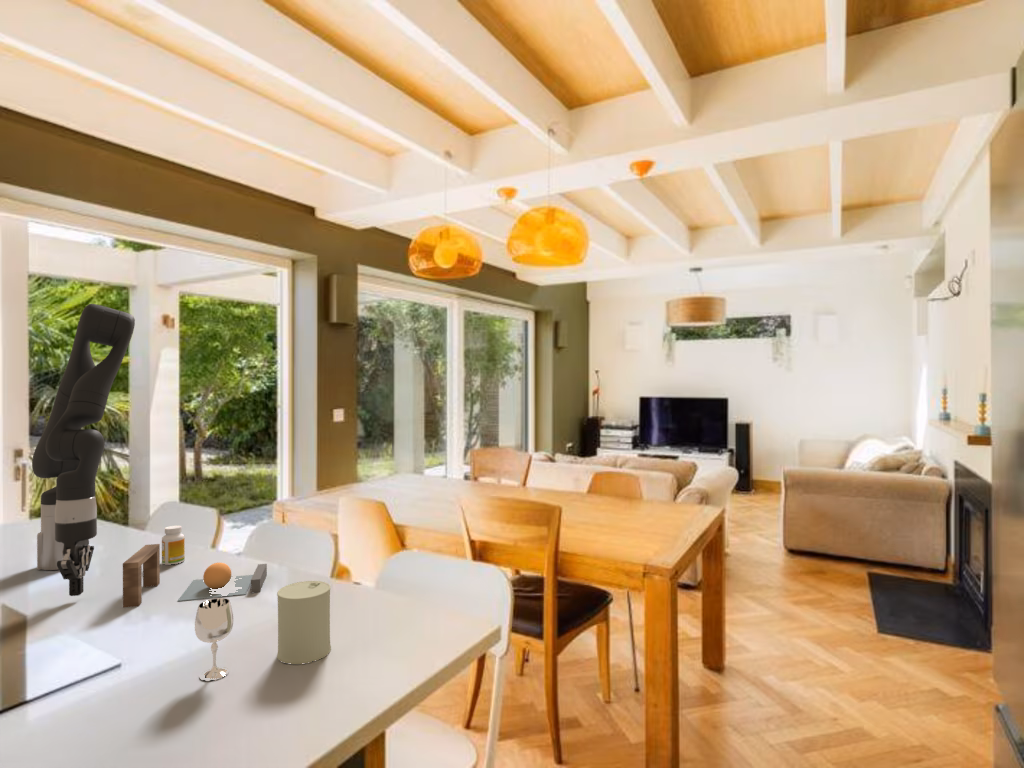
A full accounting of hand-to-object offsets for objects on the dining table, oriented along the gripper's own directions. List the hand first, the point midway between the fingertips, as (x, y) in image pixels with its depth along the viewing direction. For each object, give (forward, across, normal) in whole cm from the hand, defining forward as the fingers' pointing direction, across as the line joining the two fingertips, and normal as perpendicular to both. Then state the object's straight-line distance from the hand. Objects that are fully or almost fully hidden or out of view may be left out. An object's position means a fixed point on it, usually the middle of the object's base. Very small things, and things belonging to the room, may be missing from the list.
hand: (76, 594), depth 128 cm
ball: (-2, 0, -29) cm, 29 cm away
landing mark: (+2, 0, -29) cm, 29 cm away
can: (+2, -41, -51) cm, 65 cm away
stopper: (+2, 0, -38) cm, 38 cm away
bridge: (+2, 0, -13) cm, 13 cm away
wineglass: (+2, -45, -37) cm, 58 cm away
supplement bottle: (+2, +25, -13) cm, 28 cm away
